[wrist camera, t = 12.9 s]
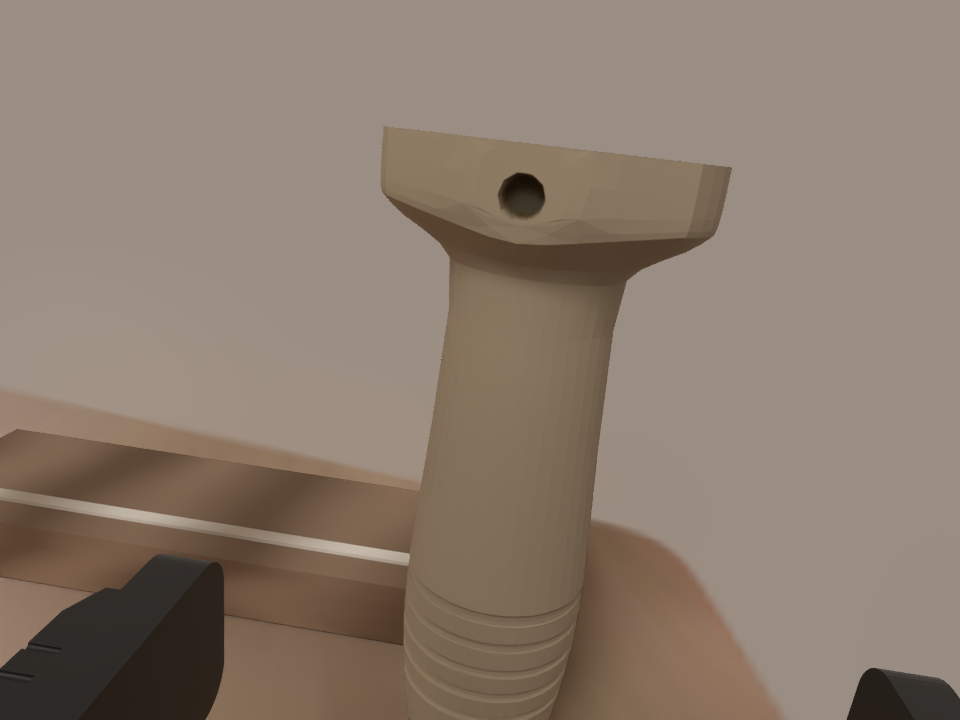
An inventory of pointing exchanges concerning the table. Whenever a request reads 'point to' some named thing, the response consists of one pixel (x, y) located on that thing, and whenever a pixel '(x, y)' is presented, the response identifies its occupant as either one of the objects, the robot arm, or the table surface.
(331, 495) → the walnut board
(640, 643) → the table surface
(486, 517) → the handle
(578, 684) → the table surface
